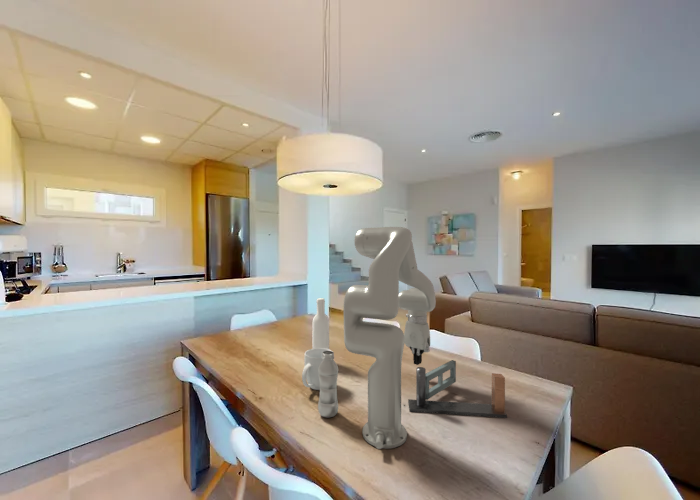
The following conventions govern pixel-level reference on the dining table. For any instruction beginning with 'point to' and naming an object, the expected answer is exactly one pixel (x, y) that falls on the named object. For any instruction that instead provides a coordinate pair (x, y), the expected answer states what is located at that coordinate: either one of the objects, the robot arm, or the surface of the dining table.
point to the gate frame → (458, 407)
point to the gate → (440, 378)
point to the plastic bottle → (328, 385)
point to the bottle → (320, 327)
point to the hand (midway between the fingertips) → (417, 363)
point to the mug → (312, 367)
